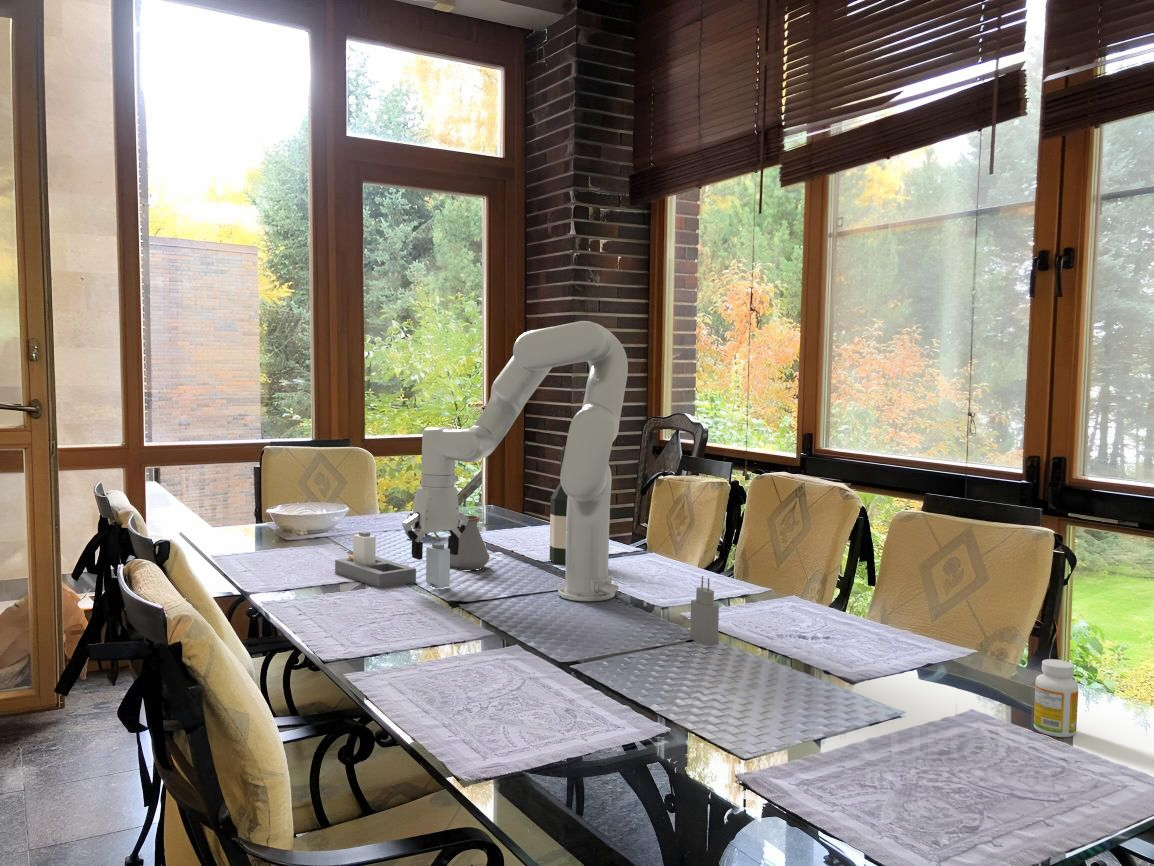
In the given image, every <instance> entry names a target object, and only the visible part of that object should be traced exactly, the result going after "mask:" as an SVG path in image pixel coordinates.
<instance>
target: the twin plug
mask: <svg viewBox="0 0 1154 866" xmlns="http://www.w3.org/2000/svg"><path fill="white" fill-rule="evenodd" d="M352 538H353V541H352V542H353V544H352V545H353V547H352V552H353V553H352V555H353V562H354V563H357V564H361V565H366V564H373V563H375V556H376V551H377V550H376V545H377V544H376V543H377V542H376V540H377V539H376V538H377V537H376V536H374V535H371V532H368V531H365V530H364V531H363V530H362V531H358V533H357V534H353V537H352Z"/></svg>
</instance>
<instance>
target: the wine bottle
mask: <svg viewBox="0 0 1154 866" xmlns="http://www.w3.org/2000/svg"><path fill="white" fill-rule="evenodd" d="M565 448H566V446H562V449H560V469H561V468H562V463H563V458H564V453H565ZM560 475H561V470H560ZM560 475H559V476H560ZM567 499H568V495H567V494H566V493H565V492H564V490H563V488H562V486H561V481H560V482H559V484H558V485H557V487H556V488H555V490H554V491H553V493H552V495H551V497H550V508H549V509H550V512H549V513H550V514H549V515H550V516H549V518H550V520H549V561H550V560H551V561H552V562H554V563H556V564H555V565H561V566H562V565H564V566H566V516H567ZM552 562H551V563H552Z"/></svg>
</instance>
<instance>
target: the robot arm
mask: <svg viewBox="0 0 1154 866" xmlns="http://www.w3.org/2000/svg"><path fill="white" fill-rule="evenodd" d="M512 354H513V355H512V356H511V358H510V359H509V360H508V362H507V363H506V364H505V366H504V368H502V370H501V371H500V373H499V374H498V375H497V377H496V378H495V380H494V381H493V383H492V385H491V388H490V389H491V390H490V397H489V400H488V402H487V405H486V406H485V408H484V410H483V411H482V412H481V414H480V415H479V417H477V420H475V422H474V423H473V425H472V426H471V427H468V428H462V429H454V428H452V427H448V426H427V427H425V428H424V429H423V431H422V438H421V440H422V442H421V443H422V444H421V465H420V466H421V470H420V471H421V472H420V473H421V474H420V486H417V489H416V493H415V495H414V501H413V508H412V513H413V516H412V517H411V516H409V517H408V519H407V518H406V520H404V521H403V522H402V523H401V524H402V527H403V528H402V529H403V530H404V533H405V535H406V536H407V538H408V537H409V538H410V539H409V540H410V541H411V557H412V559H414V560H418V561H420V560H423V553H424V552H423V551H424V550H423V549H424V544H423V541H422V539H423V538H424V536H426V535H425V534H426V533H429V534H430V533H431V534H432V533H433V532H436V533H441V532H448V533H449V535H448V538H447V547H448V549H450V554H453V555H458V549H459V538H460V537H461V535H462V533H463V531H464V530H465V528H466V525H467V523H468V520H469V517H467V516H468V515H465V514H463V513H461V512H460V511H459V509H460V507H459V497H458V491H457V487H455V484H456V482H457V481H459V476H458V475H456V462H457V461H458V462H462V463H474V462H477V461H479V460H482V459H486V458H487V457H489V456H490V455H492V453H493V452H494V451H495V450H496V448H497V447H498V445H500V443H501V442H502V440H503V439H504V437H506V435H507V434H508V432H509V430H511V427H512V426H513V425H514V423H515V421H516V419H517V418H518V417H519V415H520V414H521V412H522V410H523V409H524V407H525V405H526V404H527V402H529V399H530V398H531V397H532V395H533V394H534V393H535V391H536V390H537V388H538V387H539V386H540V385H541V383H542V382H543V380H544V379H545V378H546V377H547V375H548V374H549V372H550V371H551V370H552V369H553V368H556V367H562V366H567V365H571V364H578V363H585V362H587V364H588V366H589V375H588V377H587V381H586V385H585V386H586V387H585V392H584V398H583V403H582V407H581V409H580V410H578V411H577V412H576V413H575V415H574V416H573V418H572V420H571V423H570V425H569V429H568V432H567V439H566V443H565V444H566V445H565V447H566V448H565V453H564V458H563V463H562V468H561V467H560V471H561V475H559V476H560V481H561V486H562V488H563V490H564V492H565V493H566V494H567V495H568V499H567V516H566V565H565V569H564V570H565V574H564V575H565V577H564V578H565V579H564V580H565V581H564V585H562V586H560V587H559V588H558V590H557V595H558V596H559V597H560V596H561V597H560V598H563V599H565V600H570V601H577V602H602V601H607V600H610V599H612V598H614V597H615V595H616V592H618V591H619V589H620V587H619V585H618V584H614V583H612V576H609V552H610V551H609V550H610V549H609V547H610V519H611V518H610V515H611V513H610V511H611V509H610V508H611V494H612V480H613V478H612V469H611V467H610V464H609V462H610V461H609V460H610V456H611V452H612V447H613V442H614V441H615V440H616V439H617V437H618V434H619V430H620V422H621V421H620V419H621V415H622V408H623V404H624V398H625V394H626V393H625V392H626V386H627V381H628V375H629V374H628V371H629V366H628V365H629V364H628V357H627V353H626V350H625V348H624V346H623V344H622V343H621V342H620V340H619V339H618V338H617V337H616V336H615V335H614V334H613V333H612V331H610V330H609V329H607V328H605V327H604V326H603V325H600V323H596V322H593V321H590V320H589V321H588V320H580V321H575V322H570V323H565V324H560V325H556V326H550V327H545V328H539V329H533V330H528V331H525V332H523V333H522V334H521V335H519V336H518V338H516V341H515V342H514V344H513V348H512ZM459 519H460V524H459V525H458V522H459ZM433 534H434V533H433Z"/></svg>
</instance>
